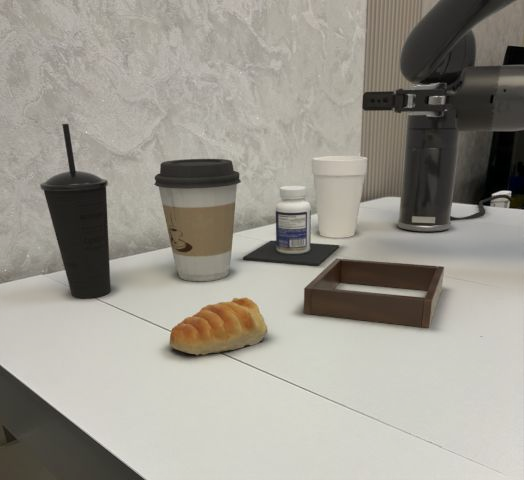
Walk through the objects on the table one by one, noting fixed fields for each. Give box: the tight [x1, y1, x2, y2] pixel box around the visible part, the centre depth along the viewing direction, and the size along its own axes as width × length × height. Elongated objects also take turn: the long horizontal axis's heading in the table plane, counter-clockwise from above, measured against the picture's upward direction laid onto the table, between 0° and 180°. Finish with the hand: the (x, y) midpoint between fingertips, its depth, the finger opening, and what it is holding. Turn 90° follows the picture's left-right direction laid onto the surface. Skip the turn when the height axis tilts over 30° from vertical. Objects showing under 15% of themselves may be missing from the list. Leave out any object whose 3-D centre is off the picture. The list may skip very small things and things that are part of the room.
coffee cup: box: [153, 158, 242, 282], centre depth 74 cm, size 11×11×15 cm
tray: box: [303, 257, 445, 329], centre depth 64 cm, size 14×14×3 cm
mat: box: [242, 240, 340, 267], centre depth 87 cm, size 12×12×1 cm
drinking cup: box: [39, 123, 112, 299], centre depth 66 cm, size 8×8×20 cm
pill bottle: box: [275, 185, 312, 255], centre depth 84 cm, size 5×5×10 cm
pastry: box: [169, 297, 268, 357], centre depth 54 cm, size 9×7×4 cm
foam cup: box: [311, 155, 368, 239], centre depth 97 cm, size 10×9×13 cm
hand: (370, 101), depth 74 cm, fingers open, 8 cm apart
